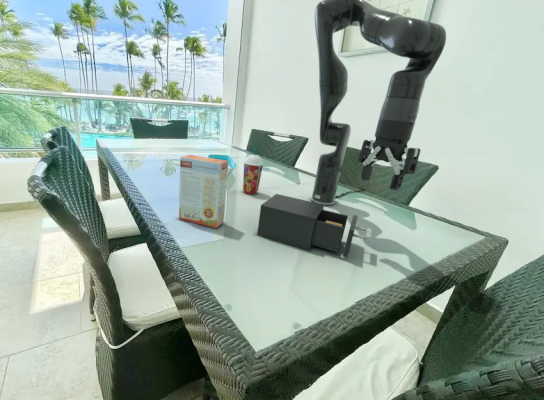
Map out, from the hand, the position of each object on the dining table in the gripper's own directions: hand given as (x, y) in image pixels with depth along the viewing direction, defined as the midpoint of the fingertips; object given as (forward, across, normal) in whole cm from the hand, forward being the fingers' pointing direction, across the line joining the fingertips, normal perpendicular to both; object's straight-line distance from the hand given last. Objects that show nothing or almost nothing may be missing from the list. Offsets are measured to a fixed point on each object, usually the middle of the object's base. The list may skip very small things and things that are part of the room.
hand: (378, 184), depth 70 cm
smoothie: (+20, -56, -6) cm, 60 cm away
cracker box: (+21, -31, -37) cm, 53 cm away
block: (+18, -7, -5) cm, 20 cm away
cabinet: (+20, -16, -13) cm, 29 cm away
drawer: (+20, -6, -5) cm, 21 cm away
